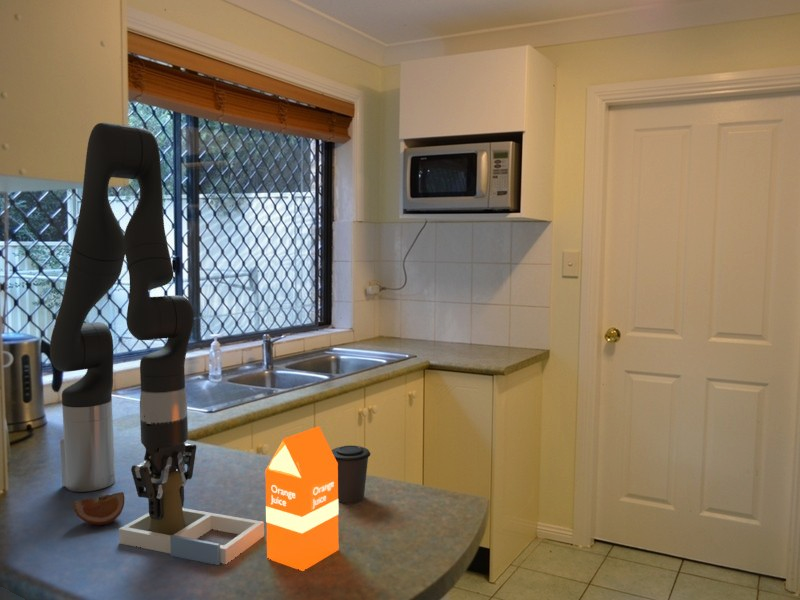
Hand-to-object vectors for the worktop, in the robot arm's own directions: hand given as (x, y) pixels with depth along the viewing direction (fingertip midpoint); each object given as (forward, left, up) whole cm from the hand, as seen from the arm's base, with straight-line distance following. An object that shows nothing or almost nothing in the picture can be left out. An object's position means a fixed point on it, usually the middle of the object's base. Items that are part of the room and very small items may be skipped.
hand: (167, 512), depth 118 cm
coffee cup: (+22, +26, -4) cm, 34 cm away
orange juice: (+25, +2, -4) cm, 26 cm away
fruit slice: (-15, 0, -4) cm, 16 cm away
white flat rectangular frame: (+5, 0, -4) cm, 6 cm away
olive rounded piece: (0, 0, -4) cm, 4 cm away
